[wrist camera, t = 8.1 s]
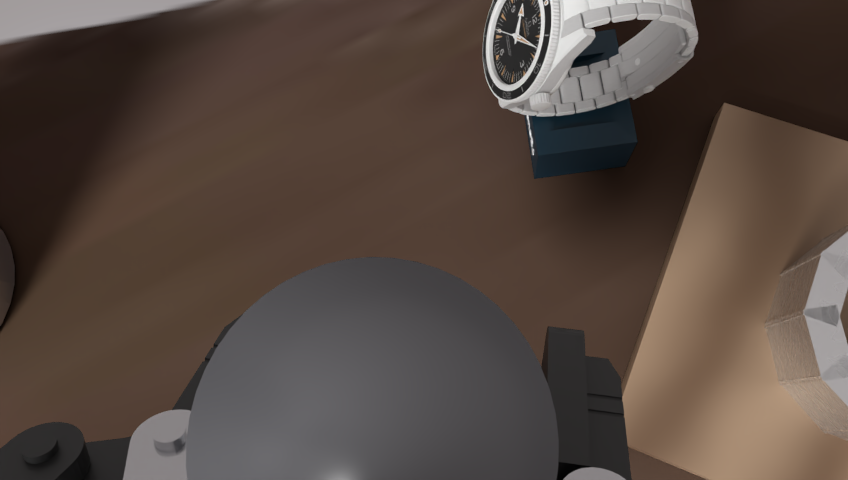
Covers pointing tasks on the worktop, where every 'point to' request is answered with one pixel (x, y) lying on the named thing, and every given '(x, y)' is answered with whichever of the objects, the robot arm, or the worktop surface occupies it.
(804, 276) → the notched white ring
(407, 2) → the worktop surface
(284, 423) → the grey cylinder
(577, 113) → the watch
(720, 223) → the mount board
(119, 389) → the worktop surface
